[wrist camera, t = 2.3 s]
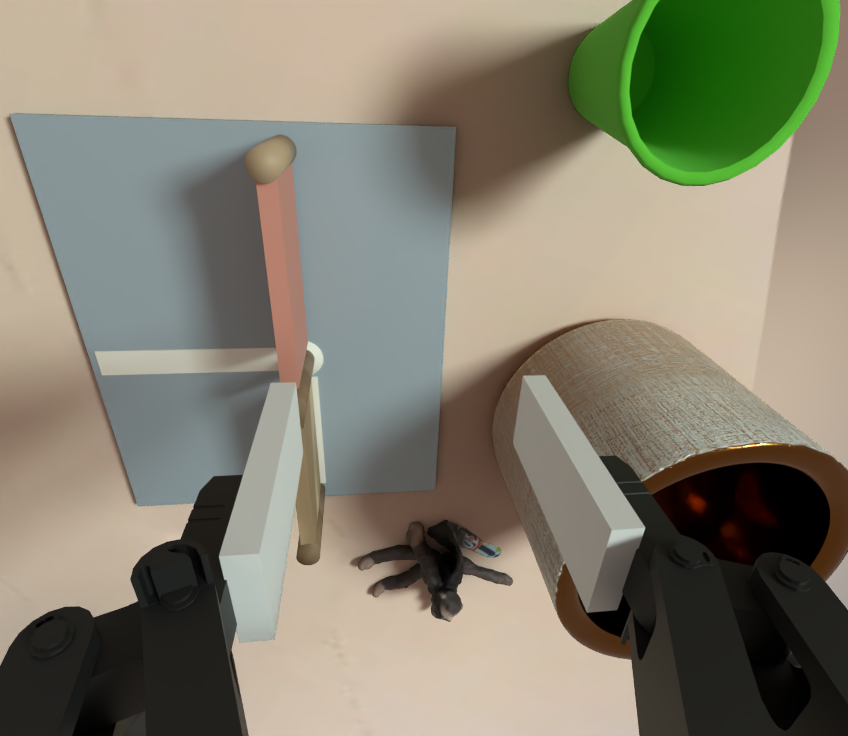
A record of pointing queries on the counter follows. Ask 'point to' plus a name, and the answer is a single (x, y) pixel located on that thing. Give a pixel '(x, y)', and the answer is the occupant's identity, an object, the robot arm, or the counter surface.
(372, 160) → the card
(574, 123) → the counter surface
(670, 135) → the cup
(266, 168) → the hinged fence panel
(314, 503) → the fixed fence panel
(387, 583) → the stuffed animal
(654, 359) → the planter
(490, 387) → the counter surface
